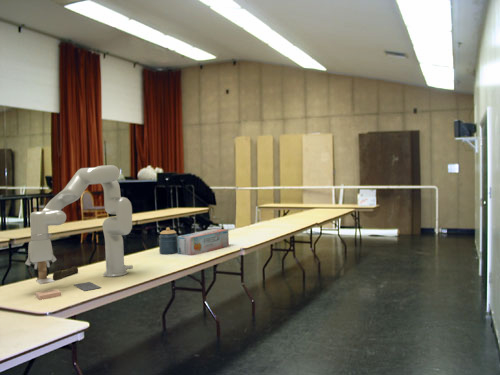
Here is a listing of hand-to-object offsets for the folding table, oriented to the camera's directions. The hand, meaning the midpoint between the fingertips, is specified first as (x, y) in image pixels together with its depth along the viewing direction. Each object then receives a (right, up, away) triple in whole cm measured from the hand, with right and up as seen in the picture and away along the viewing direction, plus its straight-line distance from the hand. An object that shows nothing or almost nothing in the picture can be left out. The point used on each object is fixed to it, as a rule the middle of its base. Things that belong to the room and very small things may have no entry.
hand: (41, 275), depth 208 cm
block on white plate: (+3, -2, -3) cm, 4 cm away
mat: (+19, -7, +8) cm, 21 cm away
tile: (+4, -7, -5) cm, 9 cm away
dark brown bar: (-2, -7, +31) cm, 32 cm away
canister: (+42, -4, +97) cm, 106 cm away
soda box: (+66, -3, +104) cm, 123 cm away
